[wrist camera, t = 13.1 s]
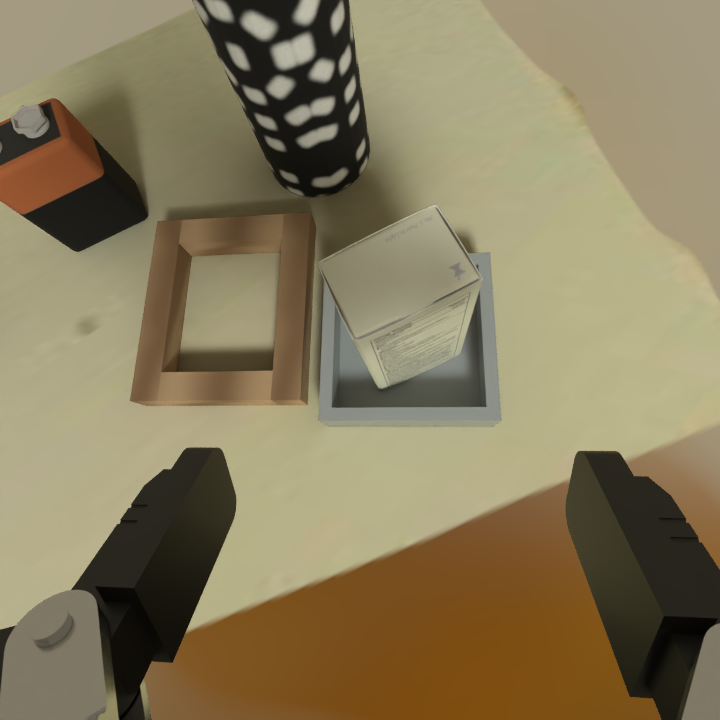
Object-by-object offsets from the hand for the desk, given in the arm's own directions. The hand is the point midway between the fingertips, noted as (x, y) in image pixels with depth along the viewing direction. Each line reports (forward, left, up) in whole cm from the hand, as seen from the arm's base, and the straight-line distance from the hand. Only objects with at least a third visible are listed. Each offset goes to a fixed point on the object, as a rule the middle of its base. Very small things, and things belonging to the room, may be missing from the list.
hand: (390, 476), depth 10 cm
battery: (-25, +21, -20) cm, 38 cm away
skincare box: (0, +9, -19) cm, 21 cm away
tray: (0, +9, -20) cm, 22 cm away
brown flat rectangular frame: (-13, +12, -20) cm, 27 cm away
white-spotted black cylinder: (-7, +26, -20) cm, 33 cm away
